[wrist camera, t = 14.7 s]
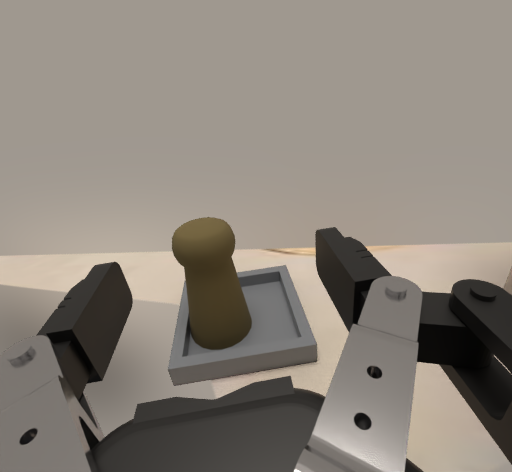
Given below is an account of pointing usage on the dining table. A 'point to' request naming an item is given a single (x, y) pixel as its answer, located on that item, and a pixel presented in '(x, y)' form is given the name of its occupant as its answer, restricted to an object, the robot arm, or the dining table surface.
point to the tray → (259, 337)
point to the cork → (212, 283)
